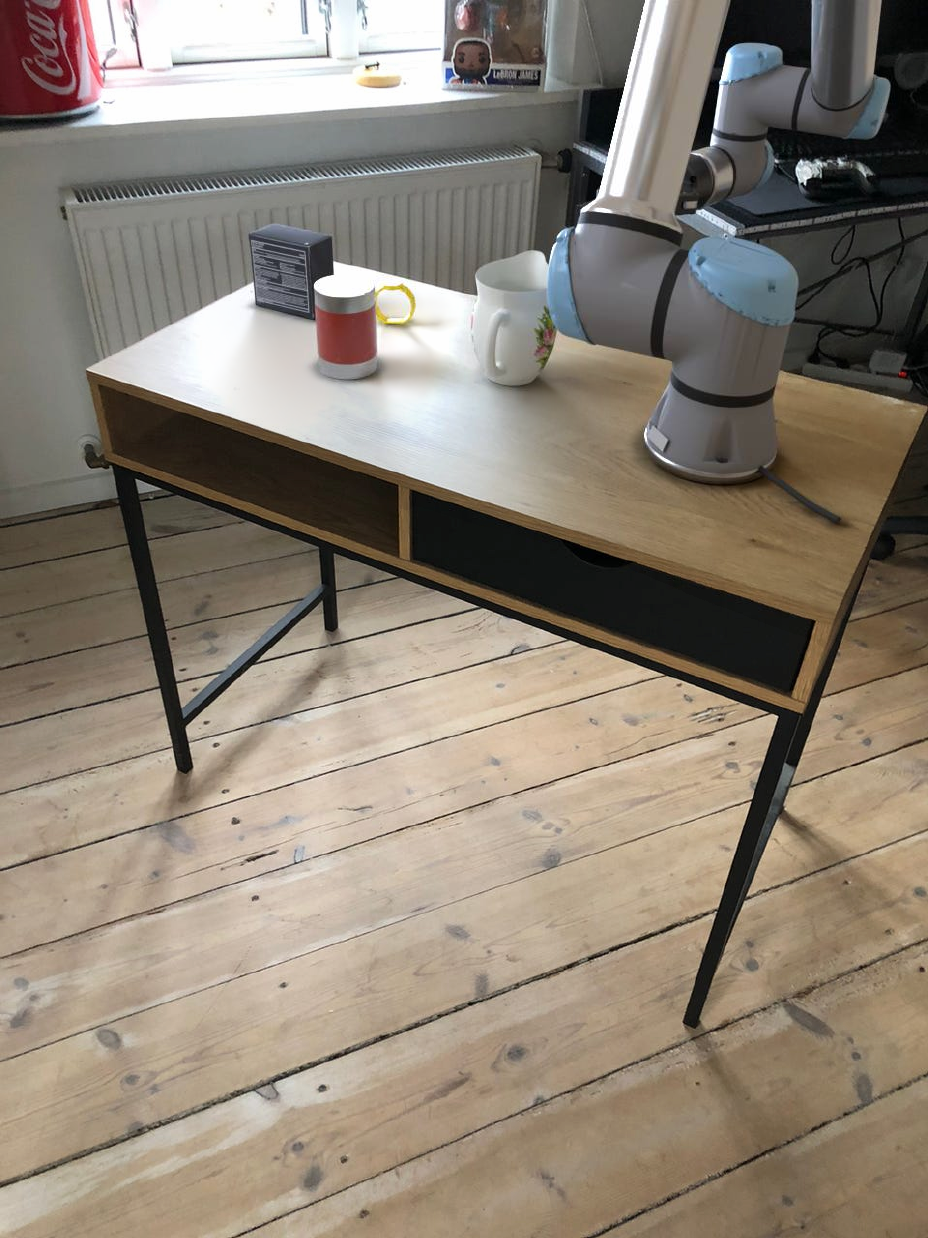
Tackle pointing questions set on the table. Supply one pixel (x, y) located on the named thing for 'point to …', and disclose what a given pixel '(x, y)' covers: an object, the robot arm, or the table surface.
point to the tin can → (346, 326)
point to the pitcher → (513, 319)
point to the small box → (289, 267)
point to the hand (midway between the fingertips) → (579, 217)
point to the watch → (395, 285)
